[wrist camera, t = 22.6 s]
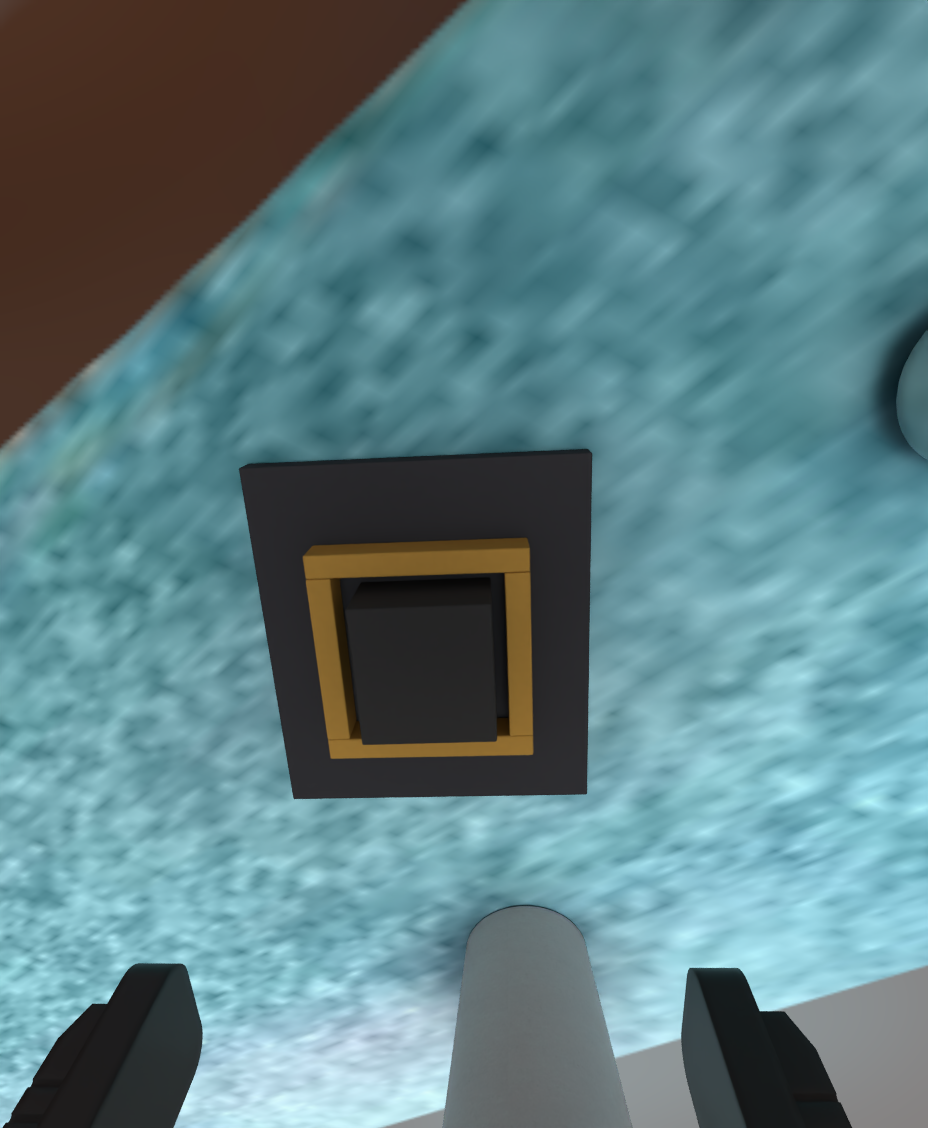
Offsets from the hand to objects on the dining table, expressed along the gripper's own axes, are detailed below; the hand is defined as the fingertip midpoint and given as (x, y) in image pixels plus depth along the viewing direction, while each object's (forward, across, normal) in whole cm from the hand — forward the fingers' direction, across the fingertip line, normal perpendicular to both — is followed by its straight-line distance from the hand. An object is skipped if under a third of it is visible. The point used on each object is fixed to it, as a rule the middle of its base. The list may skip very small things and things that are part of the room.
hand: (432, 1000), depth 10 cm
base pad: (+18, +2, +2) cm, 19 cm away
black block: (+17, +2, +2) cm, 18 cm away
